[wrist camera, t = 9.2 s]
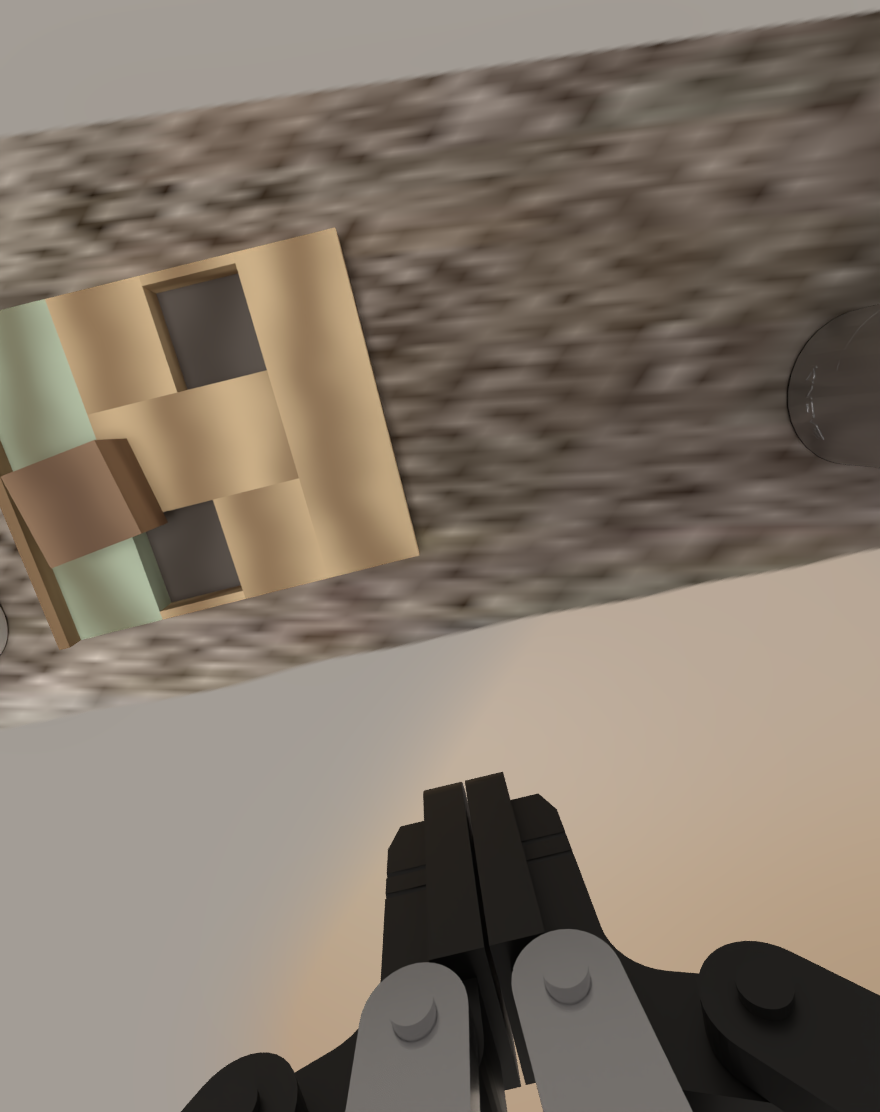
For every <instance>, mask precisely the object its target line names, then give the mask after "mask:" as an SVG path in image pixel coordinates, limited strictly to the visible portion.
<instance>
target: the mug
mask: <svg viewBox="0 0 880 1112" xmlns="http://www.w3.org/2000/svg"><path fill="white" fill-rule="evenodd" d="M7 634H8V629H7V622H6V618H5V615H4V613H3V611H2V609H1V607H0V654H1V653H2V651H3V649H4V647H5V644H6V641H7Z"/></svg>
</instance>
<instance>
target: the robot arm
mask: <svg viewBox="0 0 880 1112" xmlns="http://www.w3.org/2000/svg"><path fill="white" fill-rule="evenodd" d="M788 408H789V412H790V417H791V422H792V424H793V426H794V428H795V431H796V433H797V435H798V437H799V438H800V439H801V440H802V442H803V443H804V444H805V446H806V447H807V448H808V449H810V450H811V451H812V452H813V453H815V454H816V455H817V456H819V457H821V458H823V459H826V460H828V461H830V462H834V463H839V464H845V465H855V466H866V467H878V468H880V304H877V305H873V306H870V307H866V308H862V309H858V310H854V311H850V312H847V313H845V314H843V315H841V316H839V317H837V318H835V319H833V320H831V321H830V322H829V323H827V324H826V325H825V326H823V327H822V328H821V329H819V330H818V331H817V332H816V334H815V335H814V336H813V337H812V338H811V339H810V340H809V341H808V342H807V344H806V345H805V347H804V349H803V350H802V352H801V353H800V355H799V357H798V358H797V361H796V364H795V366H794V369H793V371H792V374H791V379H790V384H789V389H788ZM465 785H466V792H467V797H466V793H465V789H464V786H463V783H462V782H459V783H455V784H450V785H446V786H442V787H438V788H434V789H429V790H425V791H424V793H423V800H424V821H422V822H418V823H413V824H409V825H405V826H401V827H400V829H399V831H398V832H397V834H396V836H395V838H394V840H393V842H392V844H391V845H390V847H389V849H388V861H387V879H386V899H385V914H384V933H383V951H382V969H381V982H380V984H379V985H378V986H377V987H376V988H375V990H374V991H373V992H372V994H371V995H370V997H369V999H368V1000H367V1002H366V1004H365V1006H364V1009H363V1011H362V1014H361V1019H360V1023H359V1028H358V1029H357V1031H356V1032H355V1033H354V1034H353V1035H352V1036H351V1037H350V1038H348V1039H347V1040H346V1041H345V1042H344V1043H342V1044H341V1045H340V1046H338V1047H337V1048H336V1049H334V1050H332V1051H331V1052H329V1053H327V1054H326V1055H324V1056H322V1057H320V1058H319V1059H317V1060H315V1061H314V1062H312V1063H310V1064H309V1065H307V1066H305V1067H304V1068H302V1069H300V1070H298V1071H297V1072H295V1073H294V1071H293V1069H292V1068H291V1066H290V1064H289V1063H288V1062H287V1061H286V1060H285V1059H284V1058H282V1057H280V1056H278V1055H276V1054H272V1053H255V1054H250V1055H247V1056H244V1057H242V1058H239V1059H238V1060H235V1061H234V1062H232V1063H230V1064H228V1065H227V1066H226V1067H224V1068H223V1069H221V1070H220V1071H219V1072H218V1073H216V1074H215V1075H214V1076H213V1077H212V1078H211V1079H210V1080H209V1081H208V1082H207V1083H206V1084H205V1085H204V1086H203V1087H202V1088H201V1089H200V1090H199V1091H198V1093H197V1094H196V1095H195V1096H194V1097H193V1098H192V1100H191V1101H190V1102H189V1103H188V1104H187V1105H186V1106H185V1108H184V1109H183V1110H182V1111H181V1112H507V1107H506V1100H505V1092H504V1090H509V1089H513V1088H517V1087H521V1084H520V1077H519V1071H518V1065H517V1059H516V1052H515V1046H514V1041H515V1045H516V1049H517V1053H518V1057H519V1060H520V1064H521V1068H522V1072H523V1075H524V1079H525V1083H526V1085H528V1084H532V1083H536V1085H537V1089H538V1093H539V1097H540V1100H541V1104H542V1108H543V1112H880V996H879V995H877V994H875V993H873V992H871V991H869V990H867V989H865V988H863V987H861V986H859V985H857V984H855V983H853V982H851V981H849V980H847V979H845V978H843V977H841V976H839V975H837V974H834V973H833V972H831V971H829V970H826V969H825V968H823V967H821V966H819V965H816V964H814V963H812V962H811V961H809V960H807V959H805V958H802V957H801V956H798V955H796V954H794V953H792V952H790V951H788V950H785V949H783V948H781V947H779V946H775V945H772V944H768V943H763V942H757V941H741V942H734V943H730V944H727V945H724V946H722V947H720V948H718V949H716V950H715V951H714V952H713V953H711V954H710V955H709V956H708V958H707V959H706V960H705V961H704V963H703V965H702V967H701V969H700V973H699V974H697V973H685V972H673V971H664V970H657V969H653V968H650V967H646V966H644V965H641V964H639V963H636V962H634V961H633V960H631V959H629V958H627V957H626V956H624V955H623V954H622V953H621V952H619V951H618V950H617V949H616V948H615V947H614V946H613V945H612V944H611V943H610V941H609V940H608V939H607V937H606V936H605V934H604V932H603V930H602V928H601V926H600V923H599V920H598V918H597V915H596V912H595V910H594V907H593V904H592V902H591V899H590V897H589V894H588V891H587V888H586V886H585V884H584V881H583V878H582V875H581V873H580V870H579V867H578V865H577V862H576V859H575V857H574V854H573V852H572V849H571V846H570V844H569V841H568V838H567V836H566V834H565V830H564V828H563V825H562V822H561V820H560V817H559V814H558V812H557V809H556V808H555V807H553V806H552V805H551V804H550V803H549V802H548V801H546V800H545V799H544V798H543V797H542V796H541V795H539V794H535V795H530V796H526V797H522V798H518V799H513V800H510V797H509V793H508V789H507V786H506V782H505V778H504V774H503V772H500V773H496V774H491V775H488V776H483V777H479V778H475V779H471V780H466V781H465ZM467 799H468V801H467ZM513 1038H514V1041H513Z"/></svg>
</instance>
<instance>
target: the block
mask: <svg viewBox="0 0 880 1112" xmlns="http://www.w3.org/2000/svg"><path fill="white" fill-rule="evenodd" d="M1 479H2V480H3V482H4V484H5V486H6V488H7V489H8V491H9V493H10V495H11V497H12V499H13V500H14V502H15V504H16V506H17V508H18V510H19V511H20V513H21V515H22V517H23V519H24V520H25V522H26V524H27V526H28V528H29V530H30V531H31V533H32V535H33V537H34V539H35V540H36V542H37V544H38V546H39V548H40V550H41V551H42V553H43V555H44V557H45V559H46V561H47V562H48V564H49V566H50V568H54V567H57V566H59V565H62V564H64V563H67V562H69V561H72V560H75V559H77V558H80V557H82V556H85V555H88V554H90V553H93V552H95V551H98V550H101V549H103V548H106V547H108V546H111V545H113V544H116V543H119V542H121V541H124V540H126V539H129V538H132V537H134V536H137V535H139V534H142V533H144V532H147V531H149V530H152V529H154V528H156V527H159V526H161V525H164V524H166V523H168V521H167V519H166V517H165V515H164V513H163V511H162V509H161V507H160V505H159V503H158V501H157V499H156V497H155V495H154V493H153V491H152V489H151V487H150V485H149V483H148V481H147V479H146V477H145V475H144V473H143V470H142V468H141V466H140V464H139V462H138V460H137V458H136V456H135V454H134V452H133V450H132V448H131V446H130V444H129V442H128V440H127V438H125V439H103V440H93V441H90V442H88V443H85V444H82V445H80V446H77V447H75V448H72V449H70V450H67V451H65V452H62V453H59V454H57V455H54V456H52V457H49V458H47V459H44V460H42V461H39V462H36V463H34V464H31V465H29V466H26V467H24V468H21V469H19V470H16V471H13V472H11V473H8V474H6V475H3V476H1Z"/></svg>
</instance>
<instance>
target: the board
mask: <svg viewBox="0 0 880 1112" xmlns="http://www.w3.org/2000/svg"><path fill="white" fill-rule="evenodd" d="M125 438H127V440H128V442H129V444H130V446H131V448H132V450H133V452H134V454H135V456H136V458H137V460H138V462H139V464H140V466H141V468H142V470H143V473H144V475H145V477H146V479H147V481H148V483H149V485H150V487H151V489H152V491H153V493H154V495H155V497H156V499H157V501H158V503H159V505H160V507H161V509H162V511H163V513H164V515H165V517H166V519H167V521H168V523H166V524H164V525H161V526H159V527H156V528H154V529H152V530H149V531H147V532H144V533H142V534H139V535H137V536H134V537H132V538H129V539H126V540H124V541H121V542H119V543H116V544H113V545H111V546H108V547H106V548H103V549H101V550H98V551H95V552H93V553H90V554H88V555H85V556H82V557H80V558H77V559H75V560H72V561H69V562H67V563H64V564H62V565H59V566H57V567H54V568H50V566H49V564H48V562H47V561H46V559H45V557H44V555H43V553H42V551H41V550H40V548H39V546H38V544H37V542H36V540H35V539H34V537H33V535H32V533H31V531H30V530H29V528H28V526H27V524H26V522H25V520H24V519H23V517H22V515H21V513H20V511H19V510H18V508H17V506H16V504H15V502H14V500H13V499H12V497H11V495H10V493H9V491H8V489H7V488H6V486H5V484H4V482H3V480H2V479H1V476H3V475H6V474H8V473H11V472H13V471H16V470H19V469H21V468H24V467H26V466H29V465H31V464H34V463H36V462H39V461H42V460H44V459H47V458H49V457H52V456H54V455H57V454H59V453H62V452H65V451H67V450H70V449H72V448H75V447H77V446H80V445H82V444H85V443H88V442H90V441H93V440H103V439H125ZM0 508H1V510H2V513H3V515H4V517H5V520H6V522H7V525H8V527H9V529H10V532H11V534H12V537H13V539H14V541H15V544H16V546H17V549H18V551H19V554H20V556H21V558H22V561H23V563H24V566H25V568H26V570H27V573H28V575H29V578H30V580H31V582H32V585H33V587H34V590H35V592H36V595H37V597H38V599H39V602H40V604H41V607H42V609H43V611H44V614H45V616H46V619H47V621H48V623H49V626H50V628H51V631H52V633H53V636H54V638H55V640H56V643H57V645H58V648H59V650H62V649H66V648H70V647H71V646H73V645H74V644H76V643H77V642H79V641H80V640H83V639H87V638H91V637H95V636H99V635H103V634H107V633H111V632H115V631H119V630H123V629H127V628H131V627H135V626H139V625H143V624H147V623H151V622H155V621H159V620H163V619H167V618H171V617H175V616H179V615H183V614H187V613H191V612H195V611H199V610H203V609H207V608H211V607H215V606H219V605H223V604H227V603H231V602H235V601H239V600H243V599H247V598H251V597H255V596H259V595H263V594H267V593H271V592H275V591H279V590H283V589H287V588H291V587H295V586H299V585H303V584H307V583H311V582H315V581H319V580H323V579H327V578H331V577H335V576H339V575H343V574H347V573H351V572H355V571H359V570H363V569H367V568H371V567H375V566H379V565H383V564H387V563H391V562H395V561H399V560H403V559H407V558H411V557H415V556H419V548H418V544H417V540H416V536H415V532H414V528H413V525H412V521H411V517H410V513H409V509H408V505H407V501H406V497H405V493H404V489H403V486H402V482H401V478H400V474H399V470H398V466H397V462H396V458H395V454H394V450H393V447H392V443H391V439H390V435H389V431H388V427H387V423H386V419H385V415H384V412H383V408H382V404H381V400H380V396H379V392H378V388H377V384H376V380H375V376H374V373H373V369H372V365H371V361H370V357H369V353H368V349H367V345H366V341H365V338H364V334H363V330H362V326H361V322H360V318H359V314H358V310H357V306H356V302H355V299H354V295H353V291H352V287H351V283H350V279H349V275H348V271H347V267H346V264H345V260H344V256H343V252H342V248H341V244H340V240H339V237H338V234H337V231H336V228H331V229H327V230H323V231H319V232H315V233H311V234H307V235H303V236H299V237H295V238H291V239H287V240H282V241H278V242H274V243H270V244H266V245H262V246H258V247H254V248H250V249H246V250H242V251H238V252H234V253H230V254H226V255H222V256H218V257H214V258H210V259H206V260H201V261H197V262H193V263H189V264H185V265H181V266H177V267H173V268H169V269H165V270H161V271H157V272H153V273H149V274H145V275H141V276H137V277H133V278H129V279H124V280H120V281H116V282H112V283H108V284H104V285H100V286H96V287H92V288H88V289H84V290H80V291H76V292H72V293H68V294H64V295H60V296H56V297H52V298H48V299H43V300H39V301H35V302H31V303H27V304H23V305H19V306H15V307H11V308H7V309H3V310H0Z"/></svg>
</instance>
